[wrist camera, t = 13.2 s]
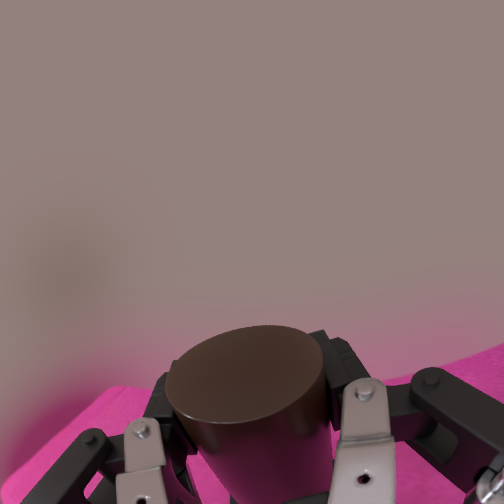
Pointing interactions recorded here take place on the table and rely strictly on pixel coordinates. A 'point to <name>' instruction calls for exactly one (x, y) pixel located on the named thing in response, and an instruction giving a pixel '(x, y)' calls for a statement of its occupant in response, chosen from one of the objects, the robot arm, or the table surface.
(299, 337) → the dark brown cylinder
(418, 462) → the table surface
